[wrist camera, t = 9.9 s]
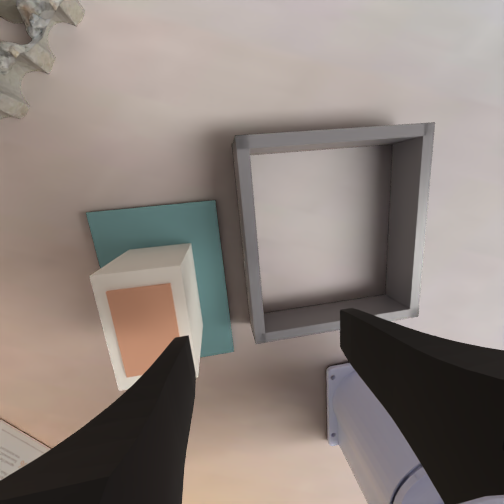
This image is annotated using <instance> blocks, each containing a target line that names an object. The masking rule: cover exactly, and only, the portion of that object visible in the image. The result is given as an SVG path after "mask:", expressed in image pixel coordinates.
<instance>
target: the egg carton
mask: <svg viewBox="0 0 504 504" xmlns="http://www.w3.org/2000/svg"><path fill="white" fill-rule="evenodd" d="M84 13H85V10H84V9H83V7H82V6H81V5H80V3H79V1H78V0H0V16H1V17H2V18H4V19H5V20H7V21H10V22H12V23H22V22H24V23H25V26H26V31H27V33H28V35H29V36H30V37H31V38H32V41H31V42H29V43H28V44H24V45H21V44H17V43H12V42H5V41H0V119H2V118H4V117H16V118H19V119H21V118H23V117H24V116H25V115H26V113H27V112H28V109H29V107H30V105H29V104H28V103H27V102H26V100H25V98H24V97H23V95H22V93H21V81H22V78H23V77H24V76H25V74H27V73H29V72H32V71H43V72H46V73H48V74H50V72H51V70H52V66H53V63H54V61H55V58H56V57H55V56H54V55H53V53H52V52H51V50H50V48H49V45H48V33H49V31H50V29H51V27H53V26H54V25H55V24H56V23H61V22H66V23H70V24H73V25H75V26H78V24H79V23H80V22H81V21H82V19H83V16H84Z"/></svg>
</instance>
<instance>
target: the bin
mask: <svg viewBox="0 0 504 504" xmlns="http://www.w3.org/2000/svg"><path fill="white" fill-rule="evenodd" d="M434 129H435V122H433V123H418V124H402V125H387V126H372V127H357V128H341V129H326V130H311V131H296V132H281V133H265V134H250V135H235V138H234V141H233V143H232V150H233V159H234V169H235V179H236V189H237V198H238V208H239V218H240V228H241V238H242V247H243V257H244V267H245V277H246V286H247V296H248V306H249V316H250V324H251V328H252V332H253V336H254V339H255V343H256V344H259V343H265V342H271V341H277V340H283V339H289V338H295V337H301V336H307V335H313V334H319V333H324V332H330V331H336V330H340V310H342V309H348V308H354V309H358V310H361V311H364V312H366V313H369V314H372V315H374V316H377V317H380V318H382V319H385V320H388V321H395V320H401V319H407V318H413V317H418V314H419V302H420V291H421V279H422V267H423V256H424V244H425V233H426V221H427V210H428V198H429V186H430V175H431V163H432V152H433V140H434ZM390 144H393V147H392V168H391V189H390V209H389V230H388V251H387V271H386V292H385V295H379V296H372V297H366V298H359V299H353V300H347V301H340V302H334V303H327V304H321V305H314V306H308V307H301V308H295V309H288V310H282V311H275V312H269V313H264V312H263V300H262V289H261V277H260V266H259V254H258V242H257V231H256V219H255V208H254V196H253V184H252V173H251V161H250V155H259V154H272V153H285V152H298V151H311V150H324V149H338V148H351V147H364V146H377V145H390Z"/></svg>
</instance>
